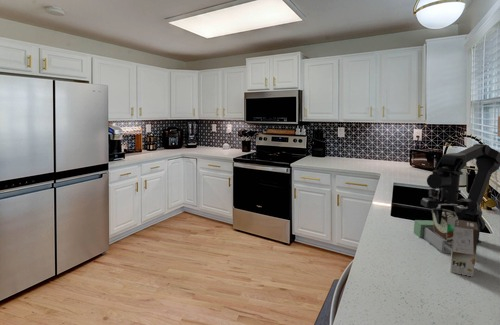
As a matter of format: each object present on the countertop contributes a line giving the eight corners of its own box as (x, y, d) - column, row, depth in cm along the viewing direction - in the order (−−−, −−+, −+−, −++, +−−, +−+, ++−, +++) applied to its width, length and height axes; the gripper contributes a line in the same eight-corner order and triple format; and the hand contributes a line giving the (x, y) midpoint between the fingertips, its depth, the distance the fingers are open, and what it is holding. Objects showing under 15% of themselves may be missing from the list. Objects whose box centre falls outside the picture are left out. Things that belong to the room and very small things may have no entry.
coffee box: (473, 278, 95) (479, 230, 93) (449, 272, 98) (454, 226, 96) (472, 266, 102) (477, 222, 100) (450, 261, 106) (454, 218, 104)
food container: (465, 242, 113) (465, 217, 111) (448, 243, 113) (448, 219, 112) (447, 229, 125) (446, 206, 123) (432, 230, 126) (431, 208, 124)
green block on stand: (441, 233, 133) (442, 220, 132) (471, 254, 112) (473, 239, 111) (413, 232, 134) (414, 220, 133) (438, 252, 113) (439, 237, 112)
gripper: (462, 182, 123) (459, 218, 125) (415, 181, 125) (413, 217, 127) (480, 188, 112) (476, 227, 114) (429, 187, 114) (426, 226, 116)
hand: (446, 224), depth 118 cm, fingers closed on food container, 6 cm apart
